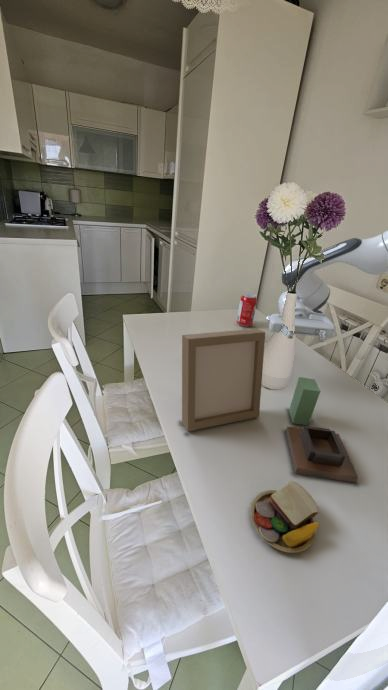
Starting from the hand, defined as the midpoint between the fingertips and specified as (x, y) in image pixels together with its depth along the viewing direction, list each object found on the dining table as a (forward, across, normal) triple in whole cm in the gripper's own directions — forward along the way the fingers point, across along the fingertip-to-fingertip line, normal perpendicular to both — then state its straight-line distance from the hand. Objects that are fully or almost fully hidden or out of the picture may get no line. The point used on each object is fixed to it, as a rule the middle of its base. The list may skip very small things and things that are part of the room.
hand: (306, 338), depth 91 cm
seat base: (+27, +1, +18) cm, 33 cm away
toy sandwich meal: (+46, -11, +17) cm, 50 cm away
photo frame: (+14, -26, +19) cm, 35 cm away
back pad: (+13, 0, +20) cm, 24 cm away
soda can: (-53, -11, +24) cm, 59 cm away
